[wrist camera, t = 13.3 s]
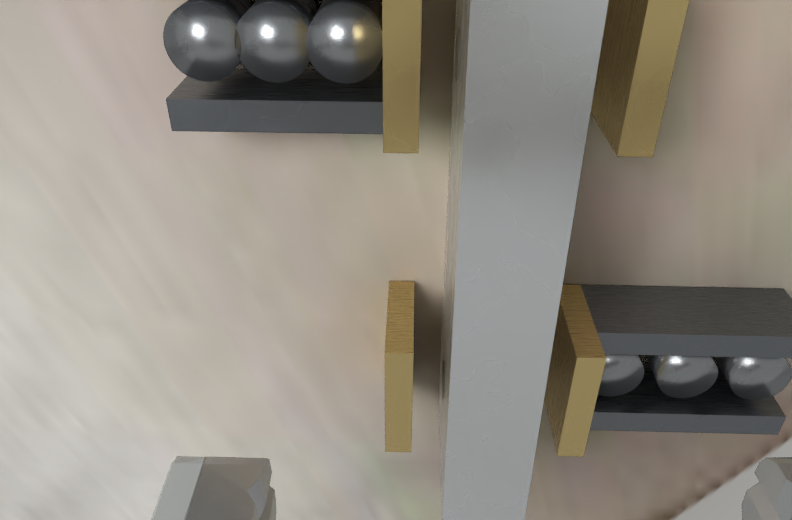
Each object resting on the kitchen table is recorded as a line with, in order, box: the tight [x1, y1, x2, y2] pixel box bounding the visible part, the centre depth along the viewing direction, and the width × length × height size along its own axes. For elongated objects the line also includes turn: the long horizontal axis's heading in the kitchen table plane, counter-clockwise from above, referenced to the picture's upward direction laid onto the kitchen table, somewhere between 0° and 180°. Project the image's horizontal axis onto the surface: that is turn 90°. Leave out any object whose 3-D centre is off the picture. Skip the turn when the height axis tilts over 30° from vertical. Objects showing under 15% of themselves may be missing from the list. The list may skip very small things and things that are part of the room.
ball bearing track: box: [163, 0, 792, 457], centre depth 18 cm, size 18×14×4 cm
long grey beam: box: [439, 0, 609, 520], centre depth 18 cm, size 3×17×5 cm, turn 0°
